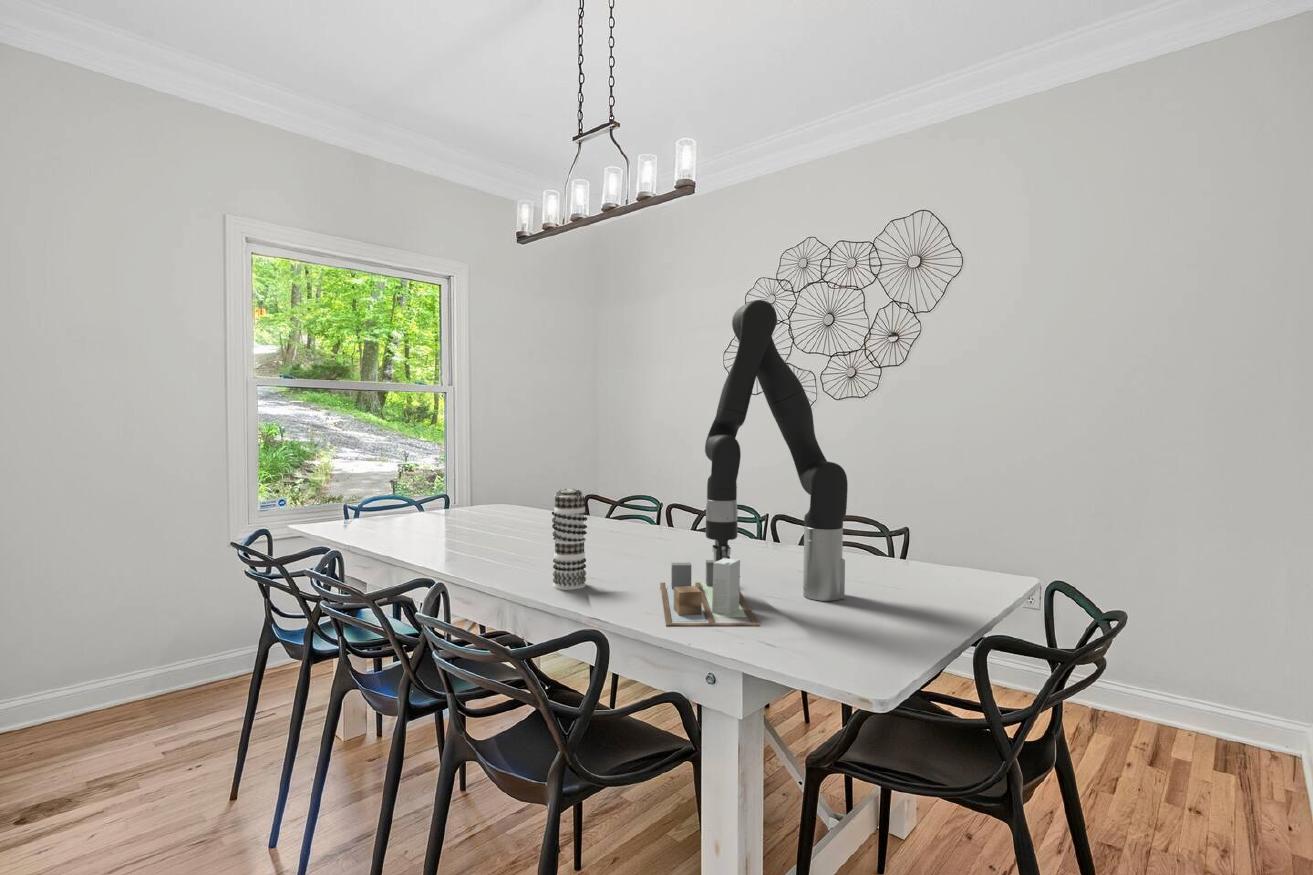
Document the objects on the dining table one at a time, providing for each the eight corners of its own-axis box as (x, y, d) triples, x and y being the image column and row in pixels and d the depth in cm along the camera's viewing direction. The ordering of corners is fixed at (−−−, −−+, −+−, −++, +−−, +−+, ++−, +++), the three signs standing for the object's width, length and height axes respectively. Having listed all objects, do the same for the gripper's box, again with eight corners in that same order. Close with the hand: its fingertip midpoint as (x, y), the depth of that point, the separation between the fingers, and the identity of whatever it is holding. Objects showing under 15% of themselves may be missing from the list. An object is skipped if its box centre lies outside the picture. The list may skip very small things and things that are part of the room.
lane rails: (735, 588, 174) (735, 582, 174) (759, 631, 139) (759, 624, 139) (660, 588, 174) (660, 582, 174) (666, 632, 139) (666, 624, 139)
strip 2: (727, 586, 175) (728, 559, 175) (746, 621, 145) (746, 589, 145) (701, 586, 175) (701, 559, 175) (714, 621, 145) (715, 589, 145)
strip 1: (694, 589, 172) (694, 562, 172) (706, 626, 142) (706, 592, 142) (667, 589, 172) (667, 562, 172) (673, 626, 142) (673, 592, 142)
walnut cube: (695, 608, 152) (695, 585, 152) (701, 614, 147) (701, 591, 147) (673, 609, 151) (673, 586, 151) (678, 615, 146) (679, 592, 146)
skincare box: (721, 610, 154) (722, 557, 154) (740, 613, 152) (740, 559, 151) (711, 617, 148) (711, 561, 148) (730, 620, 146) (730, 563, 146)
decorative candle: (585, 590, 171) (585, 491, 171) (548, 589, 172) (548, 491, 171) (589, 581, 181) (589, 487, 180) (554, 581, 181) (554, 487, 180)
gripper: (741, 522, 155) (740, 597, 156) (733, 514, 169) (732, 583, 169) (708, 522, 155) (708, 597, 156) (703, 514, 168) (702, 583, 169)
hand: (720, 590), depth 162 cm, fingers closed
